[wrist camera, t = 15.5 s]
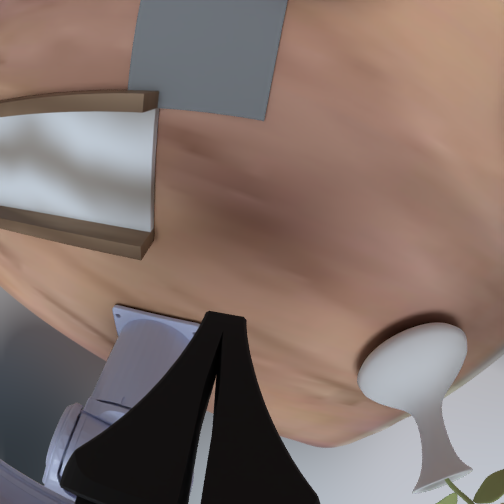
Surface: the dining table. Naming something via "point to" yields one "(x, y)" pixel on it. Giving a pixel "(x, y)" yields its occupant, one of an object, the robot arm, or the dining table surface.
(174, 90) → the mat
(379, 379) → the flower in vase
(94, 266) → the dining table surface
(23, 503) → the robot arm
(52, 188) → the lane
